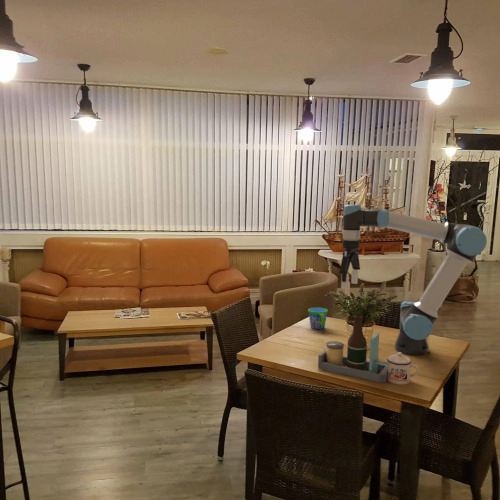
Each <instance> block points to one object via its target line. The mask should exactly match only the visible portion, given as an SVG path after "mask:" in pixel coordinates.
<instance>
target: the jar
mask: <svg viewBox="0 0 500 500" xmlns="http://www.w3.org/2000/svg"><path fill="white" fill-rule="evenodd" d="M344 345H345V343H344V342H341V341H336V340H331V341H328V342H326V349H327V353H326V363H331V364H335V365H340V366H344V364H343V356H344V347H345V346H344Z"/></svg>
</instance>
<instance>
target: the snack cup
mask: <svg viewBox="0 0 500 500" xmlns="http://www.w3.org/2000/svg"><path fill="white" fill-rule="evenodd" d="M307 312H308V315H309V325H310V328H311V329H313V330H323V329H325V328H326V327H325V326H326V321H327V315H328V312H329V310H328V309H327V308H323V307H310V308H308V310H307Z"/></svg>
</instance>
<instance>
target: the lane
mask: <svg viewBox="0 0 500 500" xmlns="http://www.w3.org/2000/svg"><path fill="white" fill-rule="evenodd" d="M326 353H327V348H326V349H324V350H323V351H322V352H320V353H319V354H318V359H317V362H318V364H317V368H318V370H322V371H327V372H330V373H331V372H332V373H335V374H342V375H345V376H350V377H353V378H354V377H355V378H359V379H364V380H368V381H373V382H377V383H380V384H381V383H382V384H386V383H387V381H388V370H387V365H385V364H380V363H378V371H377V372H379V373H377V372H376V373H373V372H369V360H366V369H367V370H368V371H367V370H366V371H364V370H359V369H354V368H350V367H347V366H344V365H347V356H345V355H343V366H340V365H335V364H331V363H326Z"/></svg>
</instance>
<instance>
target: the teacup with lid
mask: <svg viewBox="0 0 500 500" xmlns="http://www.w3.org/2000/svg"><path fill="white" fill-rule="evenodd" d="M386 360H387V361H386V362H388V364H387V370H388V380H387V381H388V382H390V383H391V384H394V385H407V384H409V383H410V380H411V379H410V378H415V377H416V376H417V375H418V374H419V367H418V365H416V364H412V360H411V358H410V357H408V356H406V355H405V354H403V353H402V352H399V351H397V352H396V353H394V354H391V355H388V357H387V358H386ZM411 367H412V368H415V369H416V371H415V373H414V374H411Z"/></svg>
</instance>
